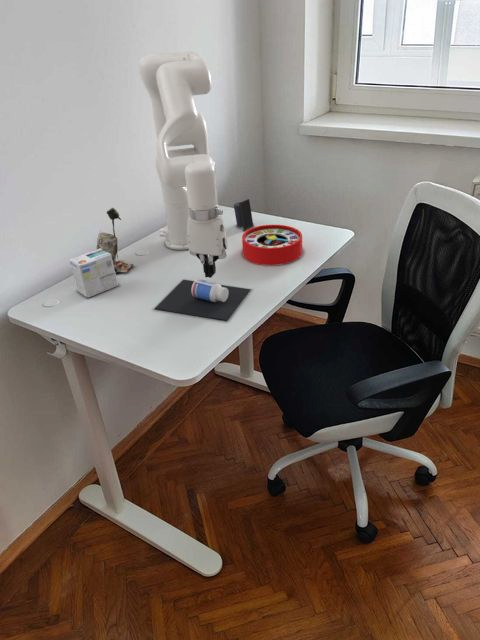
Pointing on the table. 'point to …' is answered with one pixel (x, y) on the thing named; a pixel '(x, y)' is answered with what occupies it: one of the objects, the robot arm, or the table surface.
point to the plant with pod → (112, 244)
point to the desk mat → (202, 302)
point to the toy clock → (272, 244)
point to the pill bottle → (209, 291)
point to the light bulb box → (93, 272)
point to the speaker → (243, 214)
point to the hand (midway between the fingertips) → (210, 275)
